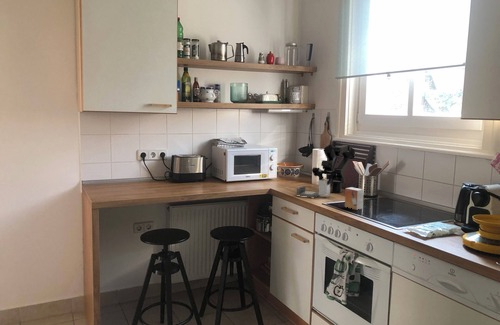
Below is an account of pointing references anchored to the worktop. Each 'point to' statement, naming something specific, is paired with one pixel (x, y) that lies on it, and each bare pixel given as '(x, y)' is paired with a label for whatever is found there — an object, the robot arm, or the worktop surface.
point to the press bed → (306, 192)
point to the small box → (354, 198)
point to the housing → (324, 187)
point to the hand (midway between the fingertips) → (323, 184)
